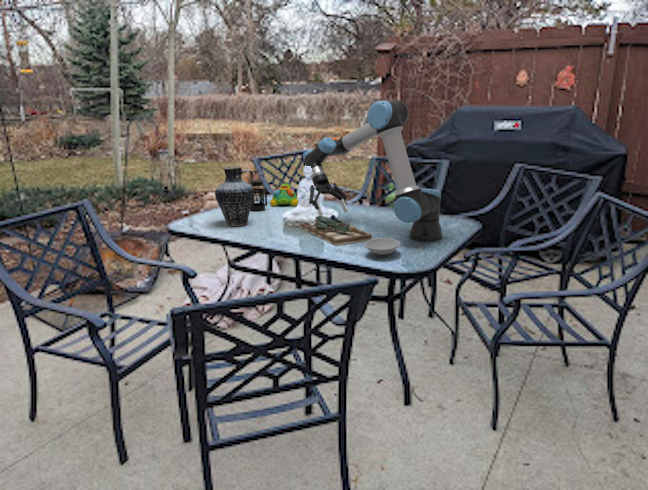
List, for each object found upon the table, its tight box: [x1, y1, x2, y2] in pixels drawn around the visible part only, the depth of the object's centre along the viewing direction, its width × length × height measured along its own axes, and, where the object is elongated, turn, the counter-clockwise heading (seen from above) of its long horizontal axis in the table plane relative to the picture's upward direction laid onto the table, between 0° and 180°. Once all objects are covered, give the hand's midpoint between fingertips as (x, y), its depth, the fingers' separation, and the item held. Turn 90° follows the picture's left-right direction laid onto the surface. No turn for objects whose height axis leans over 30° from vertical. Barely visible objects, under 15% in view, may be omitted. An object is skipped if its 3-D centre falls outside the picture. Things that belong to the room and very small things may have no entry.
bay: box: [299, 222, 373, 247], centre depth 241 cm, size 37×19×2 cm, turn 28°
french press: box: [247, 170, 268, 213], centre depth 289 cm, size 12×9×23 cm
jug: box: [214, 165, 255, 227], centre depth 255 cm, size 21×19×30 cm
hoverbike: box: [314, 214, 356, 234], centre depth 239 cm, size 10×25×8 cm, turn 49°
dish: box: [363, 237, 401, 256], centre depth 208 cm, size 18×14×5 cm
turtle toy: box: [269, 183, 299, 207], centre depth 307 cm, size 17×23×12 cm
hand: (334, 213), depth 238 cm, fingers open, 13 cm apart
